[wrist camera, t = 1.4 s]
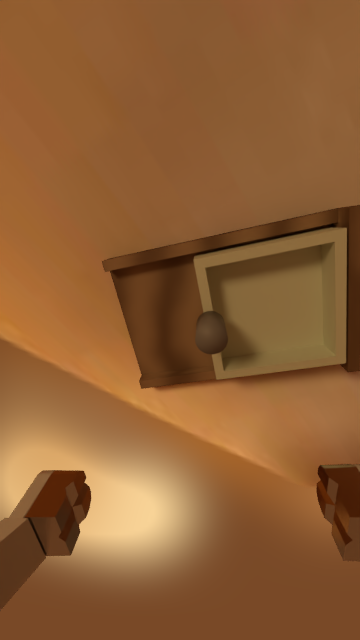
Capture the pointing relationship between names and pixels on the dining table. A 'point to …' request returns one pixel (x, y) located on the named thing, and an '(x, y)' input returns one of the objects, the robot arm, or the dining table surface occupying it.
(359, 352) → the bay
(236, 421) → the dining table surface
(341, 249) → the drawer
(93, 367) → the dining table surface
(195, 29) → the dining table surface
